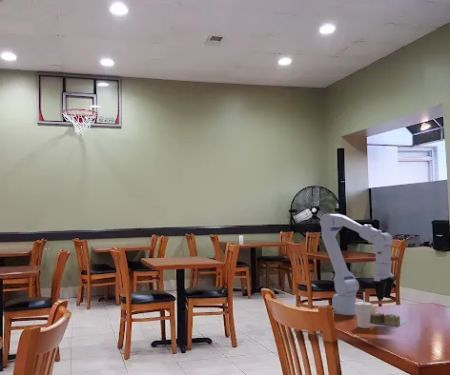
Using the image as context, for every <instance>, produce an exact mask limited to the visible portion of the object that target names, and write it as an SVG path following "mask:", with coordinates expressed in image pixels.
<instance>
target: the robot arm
mask: <svg viewBox="0 0 450 375" xmlns="http://www.w3.org/2000/svg"><path fill="white" fill-rule="evenodd" d="M319 225H320V227H321V238H322V241H323V244H324V246H325V249H326V252H327V255H328V257H329V260H330V262H331V265H332V269H333V271H334V273H335V275H334V278H333V283H334V290H335V292H336V293H335V294H333V296H332V300H331V303H332V304H331V305H332V307H333V308H334V309H335V311H334V313H333V314H338V315H344V316H356V315H357V314H356V307H355V306H354V305H355V303H356V302H357V292H358V291H359V289H360V283H359V281H358V280H357V279H356V277H355V275H354V274H353V273H352V272H351V271H349V268H348V267H347V263H346V261H345V259H344V256H343V254H342V251H341V248H340V246H339V245H340V244H339V243H338V240H337V238H336V236H337V234H338V232H339V231H340V230H341V229H342V228H343V227H346V228H347V229H349V230H352V231H354V232H356V233H358V235H359V237H360V238H362V239H364V240H366V241H368V242H369V243H372V245H373V246H374V250H375V274H374V276H373V277H374V278H373V279H372V280H371V284H372V285H373V287H374V290H375V294H376V298H377V300H384V297H389V298H390V297H391V294H392V289H393V285H394V283H395V281H396V278H393V277H395V274H393V272H392V261H391V260H392V258H391V256H392V254H391V251H392V250H391V249H392V248H391V246H392V245H393V243H394V237H393V235H392V234H390V233H389V232H387V231H385V232H383V231H382V230H381V229H377V228H374V227H373V225H372V224H363V225H362V224H360V223H358V222H357V221H355V220H354V219H351V218H349V217H348V216H347V215H344V214H341V213H324V214H323V215H322V216H321V218H320V220H319ZM332 307H331V308H332Z"/></svg>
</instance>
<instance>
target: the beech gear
mask: <svg viewBox="0 0 450 375" xmlns="http://www.w3.org/2000/svg"><path fill="white" fill-rule="evenodd" d="M393 315H394V317H389V314H384V324H386V325H392V326H393V325H400V319H401V316H400V315H397V314H393ZM400 326H401V325H400Z"/></svg>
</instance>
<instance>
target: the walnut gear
mask: <svg viewBox="0 0 450 375" xmlns="http://www.w3.org/2000/svg"><path fill="white" fill-rule="evenodd" d="M375 313H376V312H371V317H370V322H372V323H379V324H381V323H384V315H385V313H381V312H378V313H379V315H375Z"/></svg>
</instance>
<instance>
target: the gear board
mask: <svg viewBox="0 0 450 375" xmlns="http://www.w3.org/2000/svg"><path fill="white" fill-rule="evenodd" d="M374 313H375V315H379V313H380V312H374ZM388 315H389V317H394V315H395V314H393V313H390V314H388ZM409 321H410V319H405V318H400V325H393V326H392V325H386V324H384V323H381V324H379V323H372V322H370V326H373V327H381V328H387V329H388V328H389V329H397V328H398V327H400V326H401V325H403V324H405V323H407V322H409Z"/></svg>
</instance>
